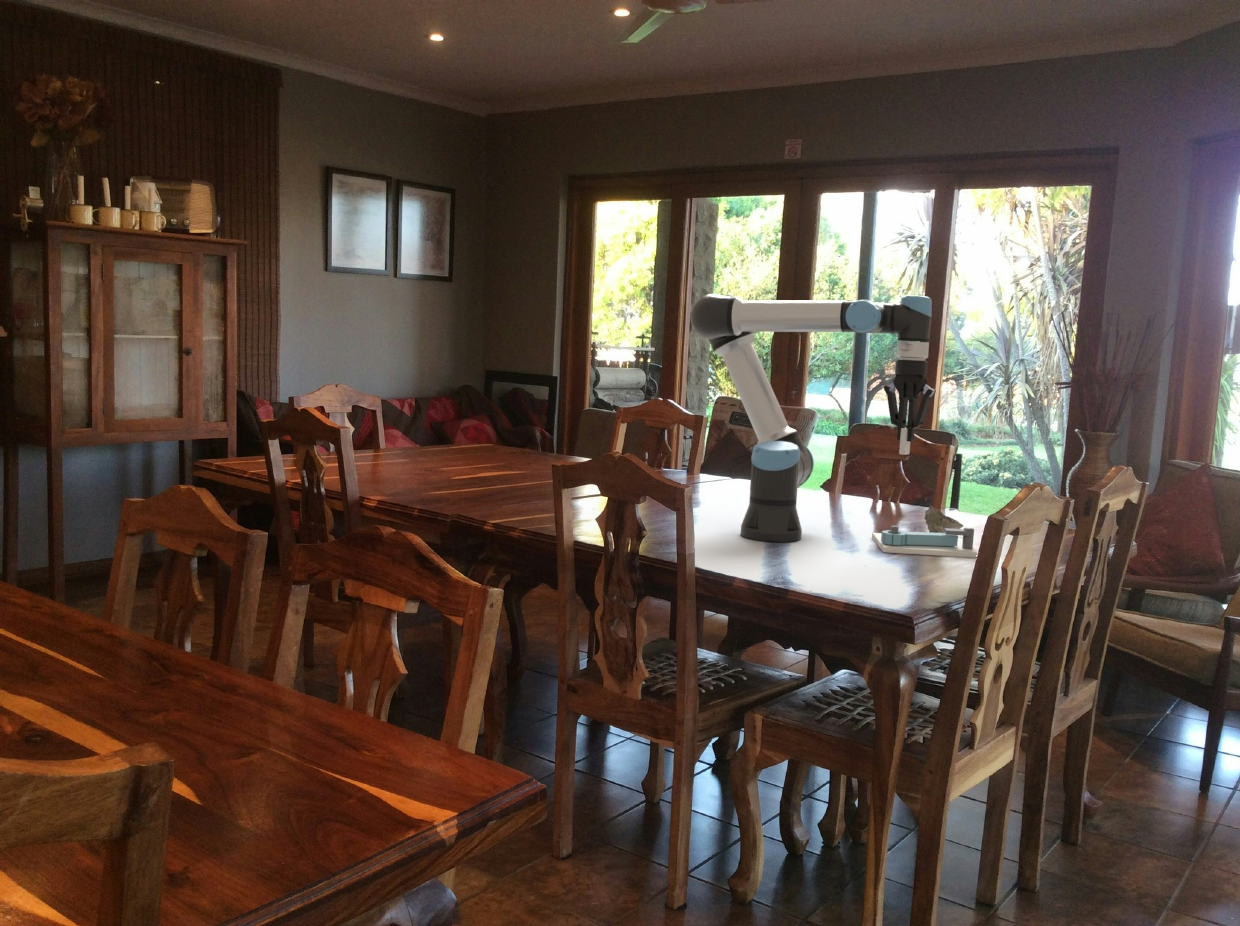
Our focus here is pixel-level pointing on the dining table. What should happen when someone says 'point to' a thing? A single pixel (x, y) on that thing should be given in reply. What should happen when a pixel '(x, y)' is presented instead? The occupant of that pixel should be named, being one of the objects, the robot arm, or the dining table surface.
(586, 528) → the dining table surface
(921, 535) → the link
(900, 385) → the robot arm
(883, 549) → the board
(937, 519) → the rock
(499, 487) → the dining table surface
